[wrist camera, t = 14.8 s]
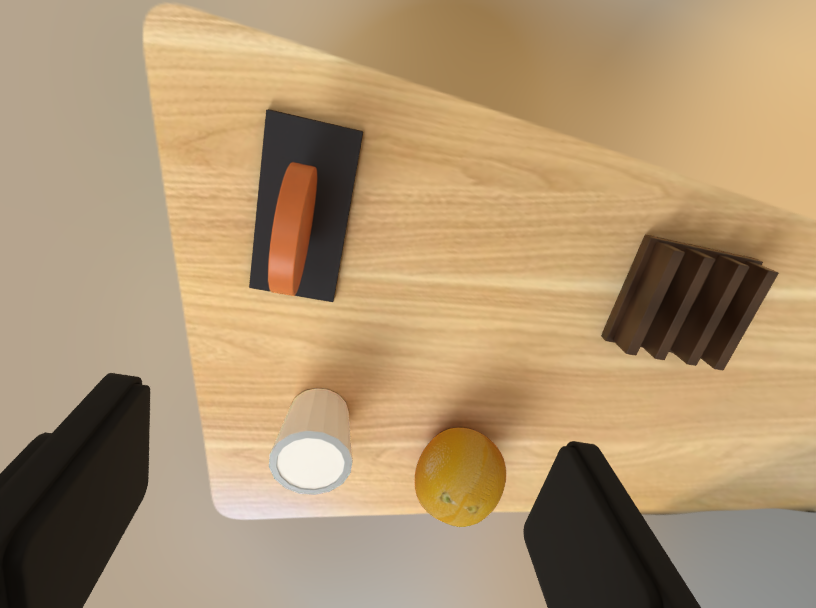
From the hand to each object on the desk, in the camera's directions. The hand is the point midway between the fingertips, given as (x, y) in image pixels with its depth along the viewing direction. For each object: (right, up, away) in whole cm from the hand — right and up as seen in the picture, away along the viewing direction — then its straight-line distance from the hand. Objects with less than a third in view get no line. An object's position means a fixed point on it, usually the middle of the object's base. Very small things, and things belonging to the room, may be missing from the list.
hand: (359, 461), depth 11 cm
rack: (+26, +4, +32) cm, 41 cm away
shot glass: (-7, -7, +34) cm, 36 cm away
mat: (-7, +11, +26) cm, 29 cm away
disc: (-7, +10, +26) cm, 29 cm away
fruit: (+6, -11, +37) cm, 39 cm away
